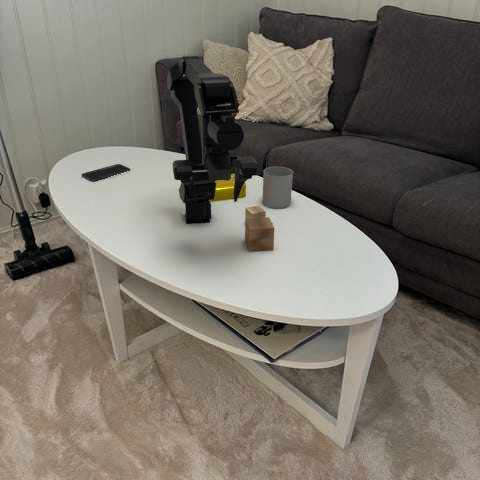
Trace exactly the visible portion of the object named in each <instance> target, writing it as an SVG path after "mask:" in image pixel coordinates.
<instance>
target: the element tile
mask: <svg viewBox="0 0 480 480" xmlns="http://www.w3.org/2000/svg"><path fill="white" fill-rule="evenodd" d="M234 181H235V174H231V179H230V180H228V181H225V180H217V181H215V183H216V190H215V197H214V200H209V201H210V202H211V203H214V202H220V201H229V200H234ZM246 196H247V184H246V182H245V183H244V185H243V187H242V189H241V191H240V194H239V197H238V199H237V200H239V199H245V197H246Z"/></svg>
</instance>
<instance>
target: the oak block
mask: <svg viewBox="0 0 480 480" xmlns="http://www.w3.org/2000/svg"><path fill="white" fill-rule="evenodd" d="M266 212H267V211H266V210H265V209H264V208H263V207H261V205H255V206H249V207H248V206H247V207H245V215H244V217H245V218H244V220H245V219H246V218H265V217H267V216H266V214H267V213H266Z"/></svg>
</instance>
